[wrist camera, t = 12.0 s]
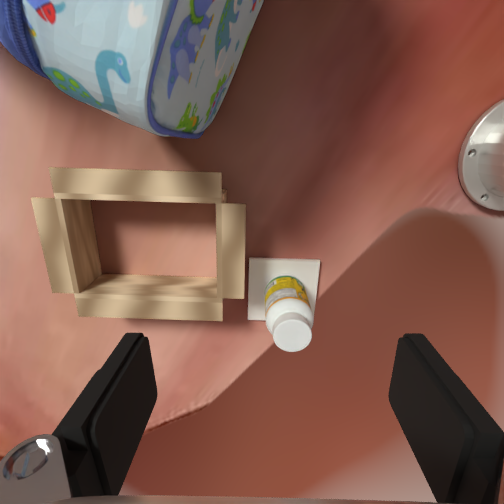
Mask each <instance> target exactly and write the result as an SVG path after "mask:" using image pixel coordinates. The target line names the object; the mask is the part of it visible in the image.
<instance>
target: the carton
mask: <svg viewBox="0 0 504 504" xmlns="http://www.w3.org/2000/svg"><path fill="white" fill-rule="evenodd" d="M49 172H50V177H51V182H52V187H53V192H54V197H55V198H36V197H32V198H31V201H32V206H33V210H34V214H35V219H36V223H37V227H38V232H39V236H40V240H41V245H42V249H43V253H44V258H45V262H46V266H47V271H48V275H49V279H50V284H51V288H52V293H74V296H75V301H76V306H77V311H78V316H79V317H110V318H140V319H170V320H201V321H223V298H230V299H244V280H245V230H246V204H235V203H227V189H222V172H193V171H159V170H125V169H91V168H57V167H49ZM90 200H115V201H149V202H182V203H215V204H216V253H217V277H189V276H158V275H127V274H102V271H101V264H100V258H99V252H98V246H97V240H96V234H95V227H94V221H93V215H92V209H91V203H90Z"/></svg>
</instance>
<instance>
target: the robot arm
mask: <svg viewBox="0 0 504 504" xmlns="http://www.w3.org/2000/svg"><path fill="white" fill-rule="evenodd" d="M468 152H469V153H468ZM458 174H459V179H460V183H461V186H462V188H463V189H464V191H465V193H466V194H467V195H468V196H469V197H470V198H471V199H472V200H473V201H474V202H476V203H477V204H479V205H481V206H483V207H486V208H489V209H493V210H497V211H504V99H503V100H501V101H499V102H498V103H496V104H494V105H493V106H492V107H491V108H489V109H488V110H487V111H486V112H484V113H483V115H482V116H481V117H480V118H479V119H478V120H477V121H476V122H475V123H474V125H473V126H472V128H471V129H470V131H469V132H468V134H467V136H466V138H465V140H464V142H463V144H462V148H461V151H460V154H459V161H458ZM156 400H157V386H156V381H155V375H154V369H153V363H152V357H151V351H150V345H149V340H148V337H144V335H143V333H126V334H125V335H124V336H123V338H122V339H121V341H120V342H119V344H118V345H117V346H116V348H115V349H114V351H113V352H112V354H111V355H110V356H109V358H108V359H107V361H106V362H105V364H104V365H103V366H102V368H101V369H100V370H98V371H97V372H96V373H95V374H94V376H93V377H92V378H91V380H90V381H89V383H88V384H87V385H86V387H85V388H84V390H83V391H82V393H81V394H80V395H79V397H78V398H77V400H76V401H75V402H74V404H73V405H72V407H71V408H70V409H69V411H68V412H67V414H66V415H65V417H64V418H63V419H62V421H61V422H60V424H59V425H58V426H57V428H56V429H55V431H54V432H53V433H52V435H49V434H43V435H37V436H34V437H32V438H29V439H27V440H25V441H23V442H22V443H20V444H18V445H17V446H16V447H14V448H13V449H12V450H11V451H9V452H8V453H7V455H6V456H5V457H4V458H3V459H2V460H1V462H0V504H504V432H503V431H502V429H501V428H500V427H499V426H498V425H497V423H496V422H495V421H494V420H493V418H492V417H491V416H490V415H489V414H488V412H487V411H486V410H485V409H484V407H483V406H482V405H481V404H480V403H479V402H478V400H477V399H476V398H475V396H474V395H473V394H472V393H471V391H470V390H469V389H468V388H467V387H466V385H465V384H464V383H463V382H462V380H461V379H460V378H459V377H458V376H457V375H456V374H455V373H454V372H453V370H452V369H451V368H450V367H449V365H448V364H447V363H446V362H445V361H444V359H443V358H442V357H441V356H440V354H439V353H438V352H437V351H436V349H435V348H434V347H433V346H432V345H431V343H430V342H429V341H428V340H427V338H426V337H425V336H424V335H423V334H404V336H403V338H399V340H398V345H397V350H396V356H395V361H394V367H393V372H392V378H391V383H390V389H389V401H390V404H391V407H392V409H393V411H394V413H395V415H396V417H397V419H398V421H399V423H400V425H401V427H402V430H403V432H404V434H405V436H406V438H407V440H408V442H409V444H410V446H411V448H412V451H413V453H414V455H415V457H416V459H417V461H418V463H419V465H420V467H421V469H422V471H423V473H424V476H425V478H426V480H427V482H428V484H429V486H430V488H431V490H432V493H433V494H434V497H435V499H436V501H437V503H431V502H410V501H377V500H344V499H343V500H341V499H305V498H304V499H303V498H263V497H260V498H259V497H214V496H213V497H212V496H157V495H154V496H153V495H151V496H150V495H149V496H148V495H147V496H145V495H144V496H143V495H140V496H118V494H119V492H120V490H121V487H122V485H123V482H124V480H125V477H126V475H127V472H128V470H129V467H130V465H131V462H132V460H133V457H134V455H135V452H136V450H137V447H138V445H139V442H140V440H141V438H142V435H143V433H144V430H145V428H146V425H147V423H148V420H149V418H150V415H151V413H152V410H153V408H154V405H155V403H156Z"/></svg>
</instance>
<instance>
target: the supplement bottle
mask: <svg viewBox="0 0 504 504" xmlns="http://www.w3.org/2000/svg"><path fill="white" fill-rule="evenodd" d="M264 297H265V317H266V325H267V328H268V330H269V331H270V333H271V334H272V335H273V339H274V342H275V344H276V345H277V346H278V347H279V348H281V349H282V350H285V351H290V352H295V351H299V350H302V349H304V348H305V347H306V346H307V345H308V344H309V343H310V341H311V338H312V332H311V329H312V326H313V322H314V317H313V312H312V309H311V306H310V303H309V300H308V297H307V293H306V290H305V287H304V285H303V283H302V282H301V281H300V280H299V279H298V278H296V277H295V276H293V275H289V274H282V275H278V276H275V277H274V278H272V279H271V280H270V281H269V282H268V283H267V285H266V287H265V291H264Z"/></svg>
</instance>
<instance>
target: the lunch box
mask: <svg viewBox="0 0 504 504" xmlns="http://www.w3.org/2000/svg"><path fill="white" fill-rule="evenodd" d="M263 1H264V0H0V42H1V43H2V44H3V46H4V47H5V48H6V49H7V50H8V51H9V52H10V53H11V54H12V55H13V56H14V57H15V58H16V59H17V60H18V61H19V62H21V63H22V64H24V65H25V66H27V67H29V68H30V69H31V70H33V71H34V72H35V73H37V74H39V75H41V76H42V77H45V78H47V79H49V80H51V81H52V82H53V84H54V85H55V86H56V87H57V88H58V89H59V90H61V91H63V92H64V93H66V94H67V95H69V96H70V97H72V98H74V99H76V100H78V101H81V102H83V103H85V104H88V105H90V106H93V107H95V108H97V109H99V110H102V111H104V112H106V113H108V114H110V115H112V116H114V117H116V118H118V119H120V120H122V121H124V122H126V123H129V124H131V125H134V126H137V127H139V128H142V129H144V130H146V131H148V132H151V133H153V134H156V135H159V136H165V137H166V136H174V137H181V138H191V139H197V138H200V137H201V136H202V134H203V133H204V131H205V129H206V128H207V127H208V126H209V125H210V124H211V123H212V121H213V119H214V117H215V116H216V114H217V112H218V110H219V108H220V106H221V104H222V101H223V99H224V97H225V95H226V93H227V90H228V88H229V85H230V83H231V81H232V78H233V76H234V73H235V71H236V68H237V66H238V63H239V61H240V58H241V56H242V53H243V51H244V48H245V46H246V43H247V40H248V38H249V35H250V33H251V30H252V28H253V25H254V23H255V21H256V18H257V16H258V14H259V11H260V9H261V6H262V4H263Z"/></svg>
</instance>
